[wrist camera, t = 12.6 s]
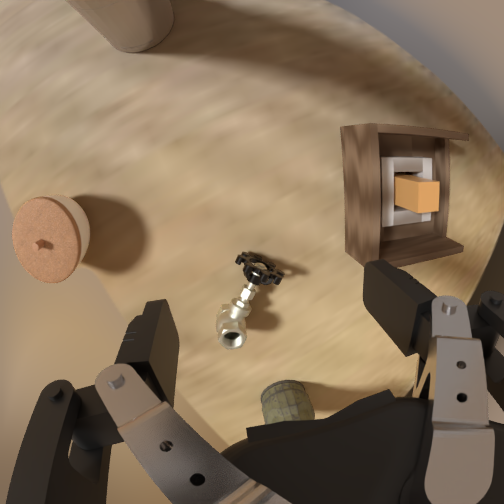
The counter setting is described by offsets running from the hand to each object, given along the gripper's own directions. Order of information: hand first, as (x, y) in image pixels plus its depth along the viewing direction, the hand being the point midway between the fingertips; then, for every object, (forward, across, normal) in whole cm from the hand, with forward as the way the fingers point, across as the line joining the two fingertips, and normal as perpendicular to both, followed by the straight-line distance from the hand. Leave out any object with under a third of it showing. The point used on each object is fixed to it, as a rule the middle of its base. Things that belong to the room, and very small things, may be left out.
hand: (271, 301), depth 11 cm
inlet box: (+27, -24, +2) cm, 37 cm away
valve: (+27, +1, +14) cm, 31 cm away
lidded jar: (+27, +23, 0) cm, 36 cm away
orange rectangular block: (+27, -25, +2) cm, 37 cm away
